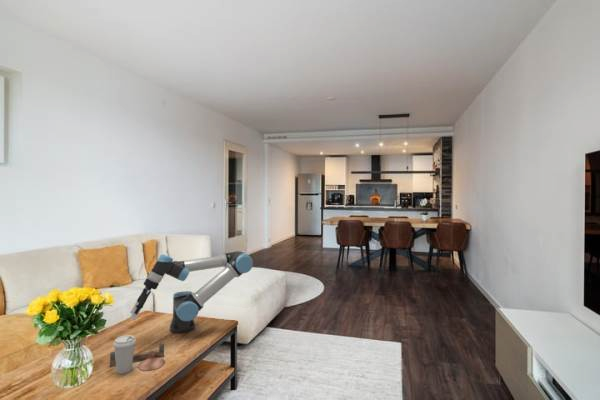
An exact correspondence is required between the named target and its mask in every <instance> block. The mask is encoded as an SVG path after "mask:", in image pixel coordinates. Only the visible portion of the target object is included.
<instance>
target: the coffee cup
mask: <svg viewBox="0 0 600 400" xmlns="http://www.w3.org/2000/svg"><path fill="white" fill-rule="evenodd" d="M136 342H137V340H136V338H135V336H134V335H130V334H129V335H121V336H118V337H116V338H115V340H114V342H113V345H112V346H113V347H114V352H115V361H116V366H115V373H117V375H118V374H120V375H122V374H126V373H129V372H130V371H132V369H133V363H134V362H133V354H135V353H134V351H135V346H136V345H135V344H136ZM132 362H133V363H132Z"/></svg>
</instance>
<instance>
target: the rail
mask: <svg viewBox="0 0 600 400" xmlns="http://www.w3.org/2000/svg"><path fill="white" fill-rule="evenodd" d="M164 356H165V343H159V344H158V349H155V350H150V351H145V352H140V353H139V352H138V353H134V354H133V362H132V364H133V363H138V362H139V363H138V365H137V368H138V370H140V371H143V372H151V371H156V370H158V369H160V368H162V367H164V365H165V363H166V360H165V359H164V358H163V357H164ZM109 357H110V358H109V367H116V361H115V351H112V352H110V354H109Z"/></svg>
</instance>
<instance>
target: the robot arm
mask: <svg viewBox="0 0 600 400" xmlns="http://www.w3.org/2000/svg"><path fill="white" fill-rule="evenodd" d="M253 263H254V261H253V259H252V256H250V255H249V254H247V253H245V252H242V251H239V250H238V251H231V252H227V253H226V252H225V253H223V254H221V255H216V256H214V255H213V256H209V257H208V256H207V257H201V258H195V259H188V260H186V259H185V260H180V261H178V260H174V258H173V257H171V256H169V255H168V254H167V255H166V254H164V253H163V254H162V253H161V254H160V256H159V257H158V259H157V260H156V262H155V264H154V265H153V267H152V269H151V270H150V271H149V272H148V275H147V278H146V279H145V280H144V281H143V285H144V286H145V287H144V288H143V290H142V292H141V293H140V295H139V297H138V298H137V299H136V302H135V303H134V305H133V307H132V308H131V310H130V314H131V315H130V317H129V320H131V321H136V318H137V317H138V315H139V314H140V311H141V310H142V309H143V308H144V305H145V303H146V301H147V300H148V298H149V296H150V294H151V293H152V290H157V288H158V287H159V285H160V283H161V282H162V279H164V277H165V275H168V276H170V277H172V278H174V279H176V280H178V281H181V282H185V281H186V280H187V278H188V277H189V274H190V273H191V272H197V271H203V270H210V269H216V268H222V267H223V269H222V270H221V271H220V272H218V273H217V274H216V275H215V276H213V277H212V278H211V279H210V280H209V281H207V282H206V283H205V284H204V285H203V286H201V287H200V288H199V289H198V290H196V291H195V292H192V291H190V290H188V291H186V290H185V291H177V292H175V293H173V296H172V301H173V303H172V319H171V321H170V325H169V331H170V332H171V333H174V334H183V333H184V334H185V333H188V332H191V331H193V330H195V329H196V321H195V319H196V318H197V316H198V314H199V312H201V310H202V309H203V308H204V306H205V305H204V304H205V303H207V302H208V301H209V300H210V299H211V298H212V297H214V296H215V294H217V293H218V292H219V291H220V290H222V289H223V288H224V287H225V286H226V285H227V284H229V283H230V282H231V281H232V280H233V279H235V278H239V277H240V276H242V275H243V274H247V273H249V272H250V271H251V270H252V268H253V265H254V264H253Z"/></svg>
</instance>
